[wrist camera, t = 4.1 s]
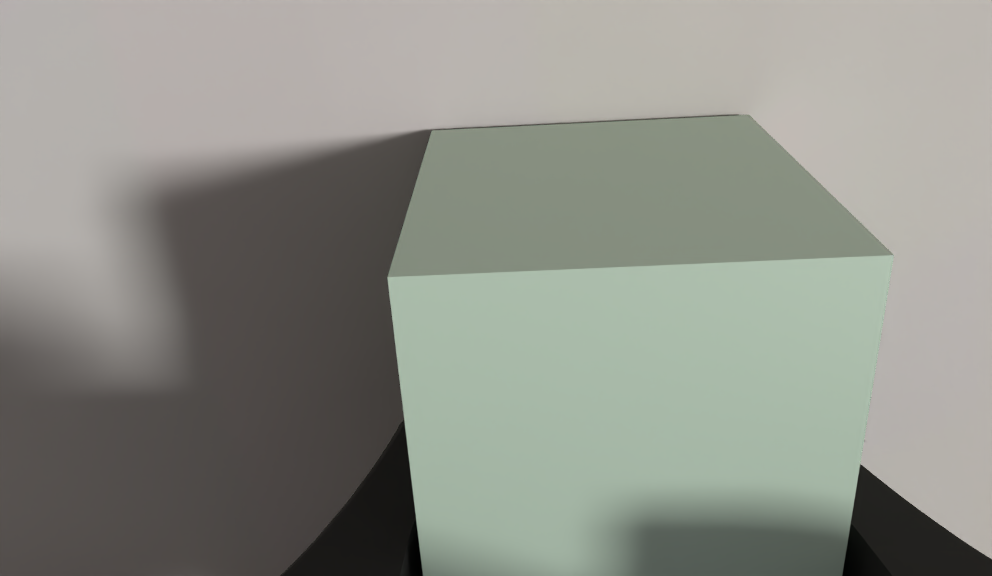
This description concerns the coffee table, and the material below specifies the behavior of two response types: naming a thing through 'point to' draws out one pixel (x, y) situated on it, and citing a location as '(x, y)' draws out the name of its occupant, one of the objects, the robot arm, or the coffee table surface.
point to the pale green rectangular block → (632, 352)
